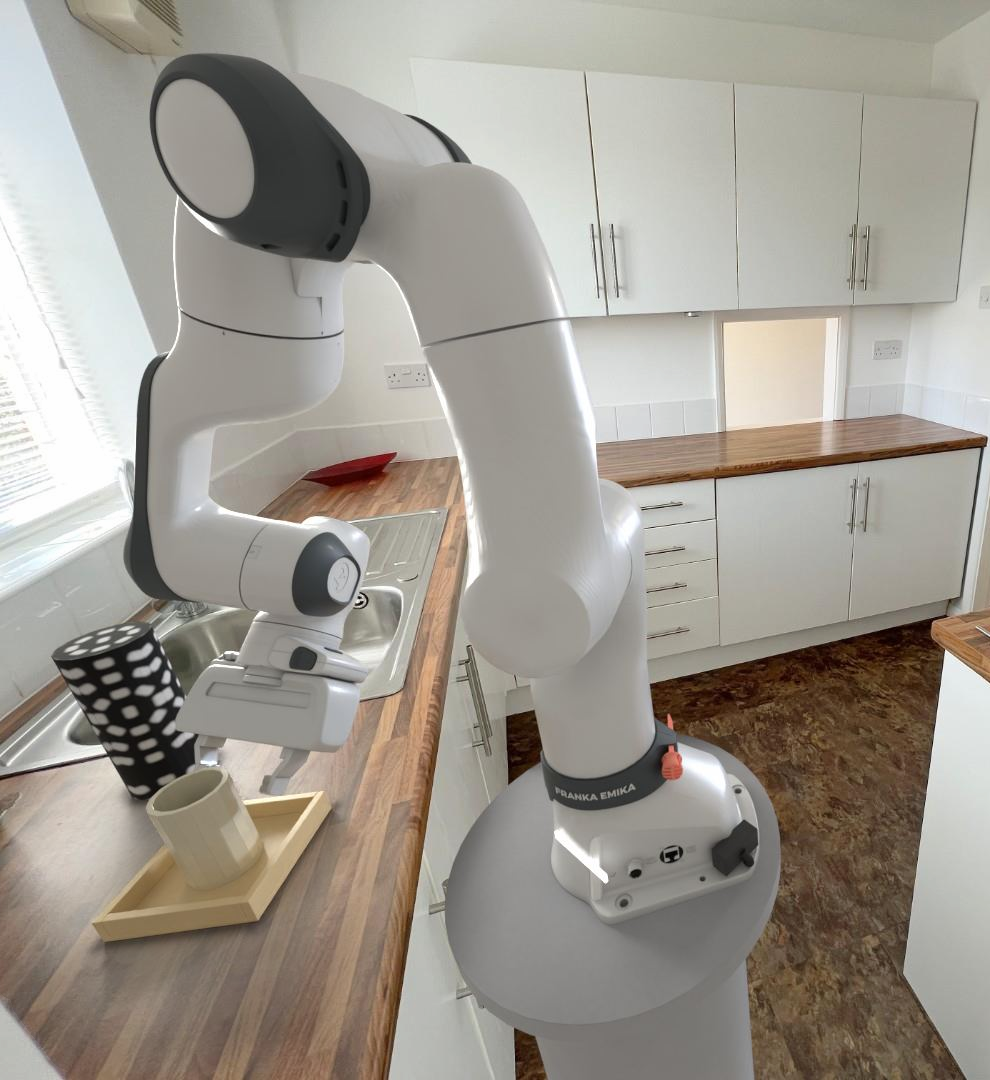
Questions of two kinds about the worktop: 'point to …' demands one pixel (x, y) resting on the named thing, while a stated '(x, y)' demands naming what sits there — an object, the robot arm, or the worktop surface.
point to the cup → (206, 827)
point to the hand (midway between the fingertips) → (235, 788)
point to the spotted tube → (130, 703)
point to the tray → (173, 906)
